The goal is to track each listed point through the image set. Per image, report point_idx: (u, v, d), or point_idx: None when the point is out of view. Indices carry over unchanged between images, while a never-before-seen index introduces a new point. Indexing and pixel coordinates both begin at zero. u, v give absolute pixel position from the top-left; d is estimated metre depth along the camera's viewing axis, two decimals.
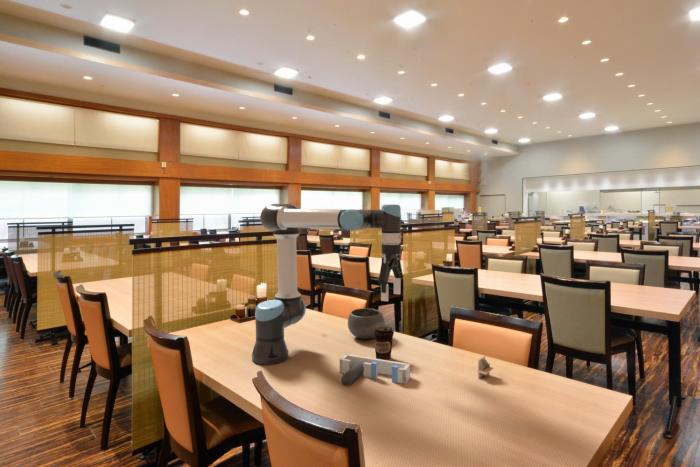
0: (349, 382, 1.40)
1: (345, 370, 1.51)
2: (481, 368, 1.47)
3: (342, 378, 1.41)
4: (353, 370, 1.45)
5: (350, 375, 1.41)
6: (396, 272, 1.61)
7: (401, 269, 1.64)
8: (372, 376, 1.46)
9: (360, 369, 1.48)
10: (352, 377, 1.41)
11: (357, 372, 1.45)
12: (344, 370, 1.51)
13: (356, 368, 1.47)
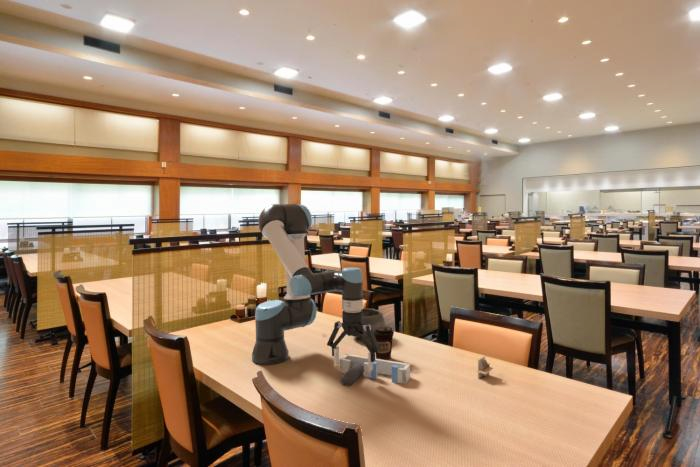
0: (349, 382, 1.40)
1: (345, 370, 1.51)
2: (481, 368, 1.47)
3: (342, 378, 1.41)
4: (354, 370, 1.45)
5: (351, 376, 1.41)
6: None
7: (374, 344, 1.41)
8: (372, 376, 1.46)
9: (361, 370, 1.48)
10: (353, 378, 1.41)
11: (358, 373, 1.45)
12: (344, 370, 1.51)
13: (357, 368, 1.47)
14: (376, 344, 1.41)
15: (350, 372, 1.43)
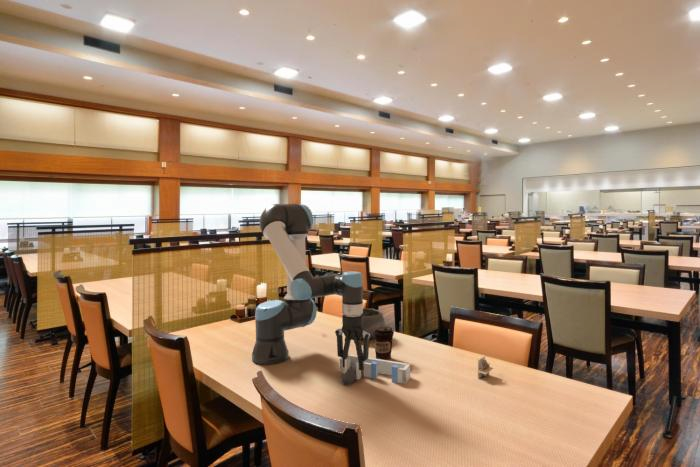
0: (349, 381, 1.40)
1: None
2: (481, 368, 1.47)
3: (342, 378, 1.41)
4: (353, 369, 1.45)
5: (350, 374, 1.41)
6: None
7: (365, 353, 1.42)
8: (372, 376, 1.46)
9: None
10: (352, 376, 1.41)
11: None
12: (344, 370, 1.51)
13: None
14: (367, 353, 1.43)
15: (349, 371, 1.43)
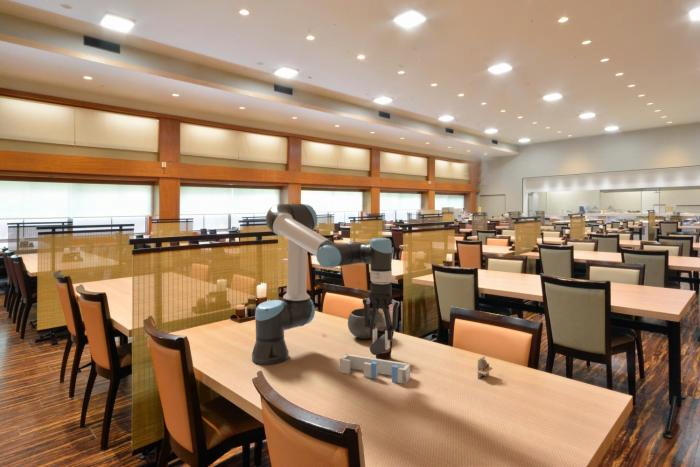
0: (378, 351, 1.35)
1: (345, 370, 1.51)
2: (480, 368, 1.47)
3: (371, 347, 1.36)
4: (381, 339, 1.40)
5: (379, 344, 1.36)
6: None
7: (394, 322, 1.37)
8: (372, 376, 1.46)
9: None
10: (381, 346, 1.36)
11: None
12: (344, 370, 1.51)
13: (384, 338, 1.42)
14: (396, 322, 1.38)
15: (378, 341, 1.38)
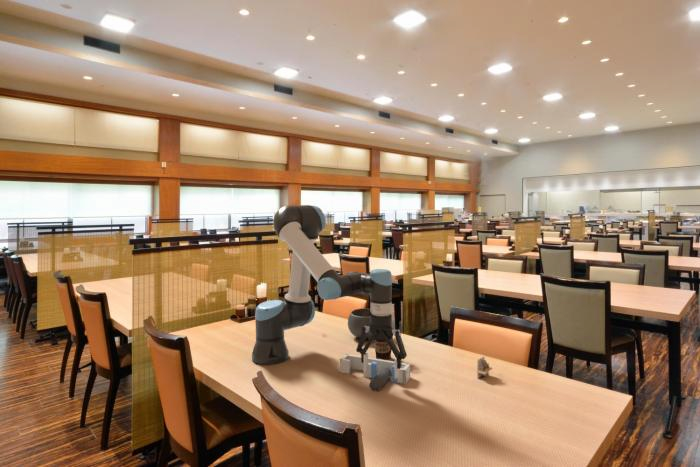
0: (378, 387, 1.36)
1: (345, 370, 1.51)
2: (480, 368, 1.47)
3: (370, 384, 1.37)
4: (381, 375, 1.40)
5: (378, 380, 1.37)
6: None
7: (402, 351, 1.37)
8: (372, 376, 1.46)
9: (388, 373, 1.44)
10: (381, 382, 1.37)
11: (385, 377, 1.41)
12: (344, 370, 1.51)
13: (383, 373, 1.42)
14: (403, 350, 1.37)
15: (377, 377, 1.39)
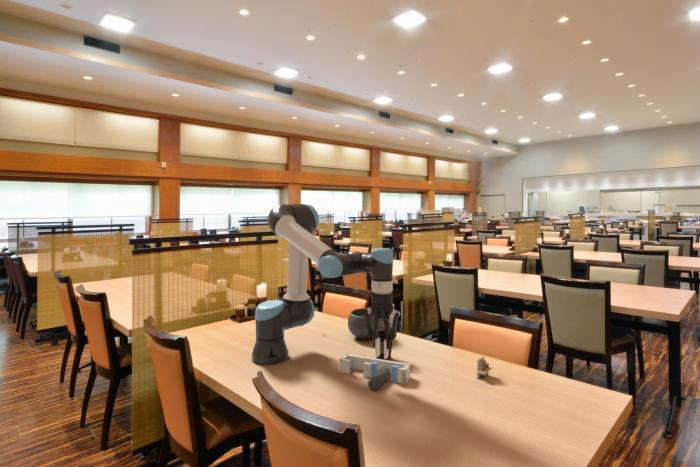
0: (377, 386, 1.36)
1: (345, 370, 1.51)
2: (480, 368, 1.47)
3: (369, 385, 1.37)
4: (378, 374, 1.41)
5: (375, 379, 1.37)
6: None
7: (394, 332, 1.38)
8: (372, 376, 1.46)
9: (385, 372, 1.44)
10: (378, 380, 1.37)
11: (382, 375, 1.41)
12: (344, 370, 1.51)
13: (381, 372, 1.43)
14: (395, 332, 1.39)
15: (374, 376, 1.39)
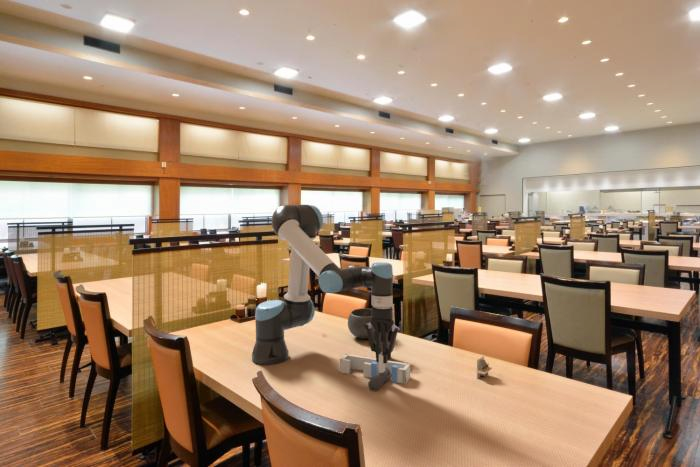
0: (377, 386, 1.36)
1: (345, 370, 1.51)
2: (480, 368, 1.47)
3: (369, 385, 1.37)
4: (378, 374, 1.41)
5: (375, 379, 1.37)
6: None
7: (391, 346, 1.39)
8: (372, 376, 1.46)
9: (385, 372, 1.44)
10: (378, 380, 1.37)
11: (383, 375, 1.41)
12: (344, 370, 1.51)
13: None
14: (392, 347, 1.40)
15: (374, 376, 1.39)
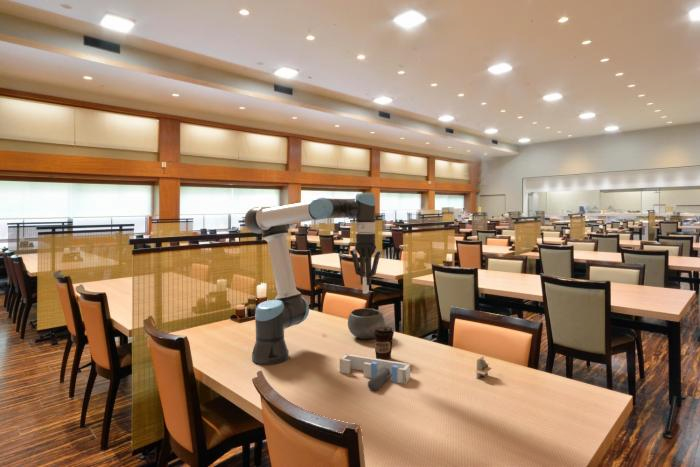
0: (377, 386, 1.36)
1: (345, 370, 1.51)
2: (479, 368, 1.47)
3: (369, 385, 1.37)
4: (377, 374, 1.41)
5: (375, 379, 1.37)
6: None
7: (374, 269, 1.53)
8: (372, 376, 1.46)
9: (385, 372, 1.44)
10: (378, 380, 1.37)
11: (382, 375, 1.41)
12: (344, 370, 1.51)
13: (380, 372, 1.43)
14: (375, 269, 1.54)
15: (374, 376, 1.39)
